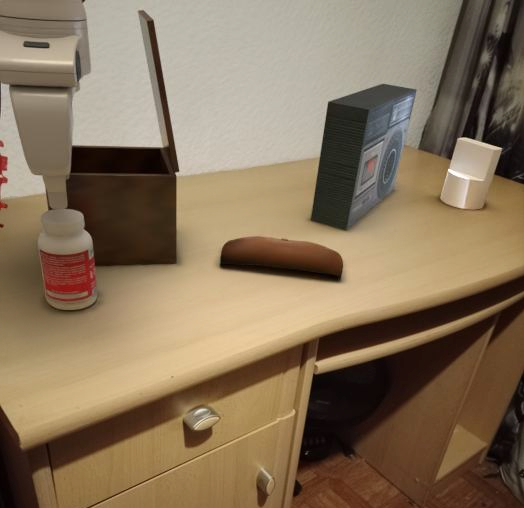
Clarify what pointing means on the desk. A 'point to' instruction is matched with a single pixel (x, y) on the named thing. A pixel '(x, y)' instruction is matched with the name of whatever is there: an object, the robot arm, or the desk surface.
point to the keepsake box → (125, 203)
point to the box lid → (158, 87)
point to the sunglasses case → (282, 254)
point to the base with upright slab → (470, 174)
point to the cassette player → (360, 153)
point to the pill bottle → (67, 260)
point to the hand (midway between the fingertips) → (60, 191)
